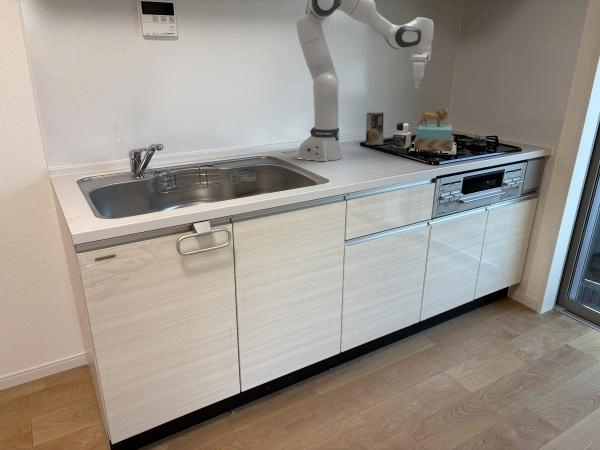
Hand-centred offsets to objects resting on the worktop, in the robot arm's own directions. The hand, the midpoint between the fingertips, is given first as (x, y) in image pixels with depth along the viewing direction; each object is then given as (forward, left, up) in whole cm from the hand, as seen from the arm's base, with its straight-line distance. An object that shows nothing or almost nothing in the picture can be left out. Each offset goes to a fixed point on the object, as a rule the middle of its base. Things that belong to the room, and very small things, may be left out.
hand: (417, 88), depth 207 cm
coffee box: (-22, +18, -31) cm, 41 cm away
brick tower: (+9, +11, -31) cm, 34 cm away
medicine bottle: (-7, +13, -31) cm, 34 cm away
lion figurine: (+8, +14, -20) cm, 26 cm away
